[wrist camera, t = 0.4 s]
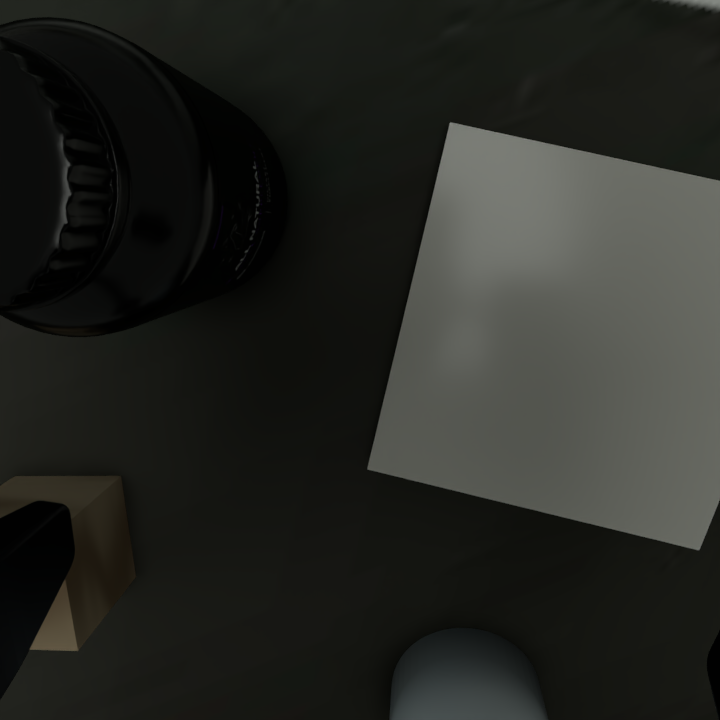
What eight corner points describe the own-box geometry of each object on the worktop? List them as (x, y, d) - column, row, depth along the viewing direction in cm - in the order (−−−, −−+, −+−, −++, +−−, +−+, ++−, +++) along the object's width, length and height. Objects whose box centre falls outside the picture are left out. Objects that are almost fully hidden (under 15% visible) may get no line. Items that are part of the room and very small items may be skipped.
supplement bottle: (323, 251, 22) (207, 299, 10) (156, 322, 23) (-122, 439, 11) (241, 56, 20) (-2, -151, 9) (68, 142, 22) (-347, 62, 10)
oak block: (136, 575, 26) (77, 651, 21) (35, 574, 26) (-43, 647, 22) (121, 475, 24) (56, 532, 20) (16, 475, 25) (-70, 531, 21)
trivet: (687, 535, 23) (699, 550, 22) (369, 458, 23) (367, 469, 22) (817, 206, 20) (837, 207, 19) (449, 126, 20) (450, 122, 19)
